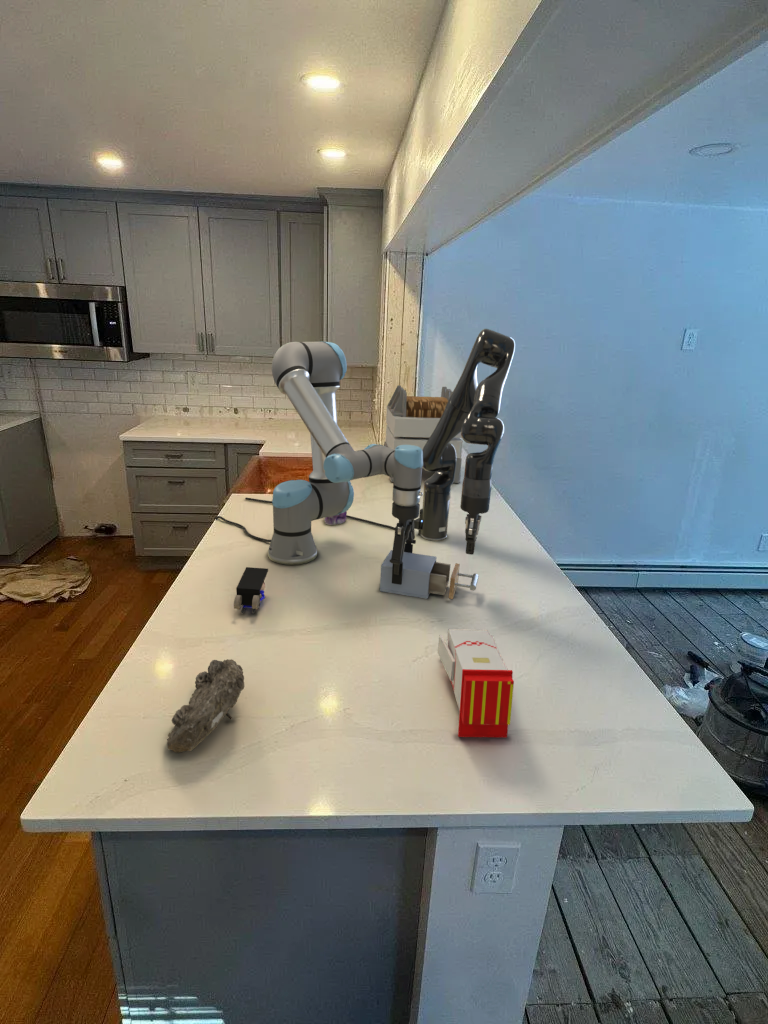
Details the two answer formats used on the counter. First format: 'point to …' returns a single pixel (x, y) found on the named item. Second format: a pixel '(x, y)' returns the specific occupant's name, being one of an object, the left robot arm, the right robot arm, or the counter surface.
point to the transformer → (417, 422)
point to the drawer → (441, 579)
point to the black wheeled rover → (250, 589)
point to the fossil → (206, 705)
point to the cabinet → (408, 575)
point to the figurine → (336, 519)
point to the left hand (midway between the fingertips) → (401, 573)
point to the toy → (478, 682)
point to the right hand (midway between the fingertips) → (469, 553)
